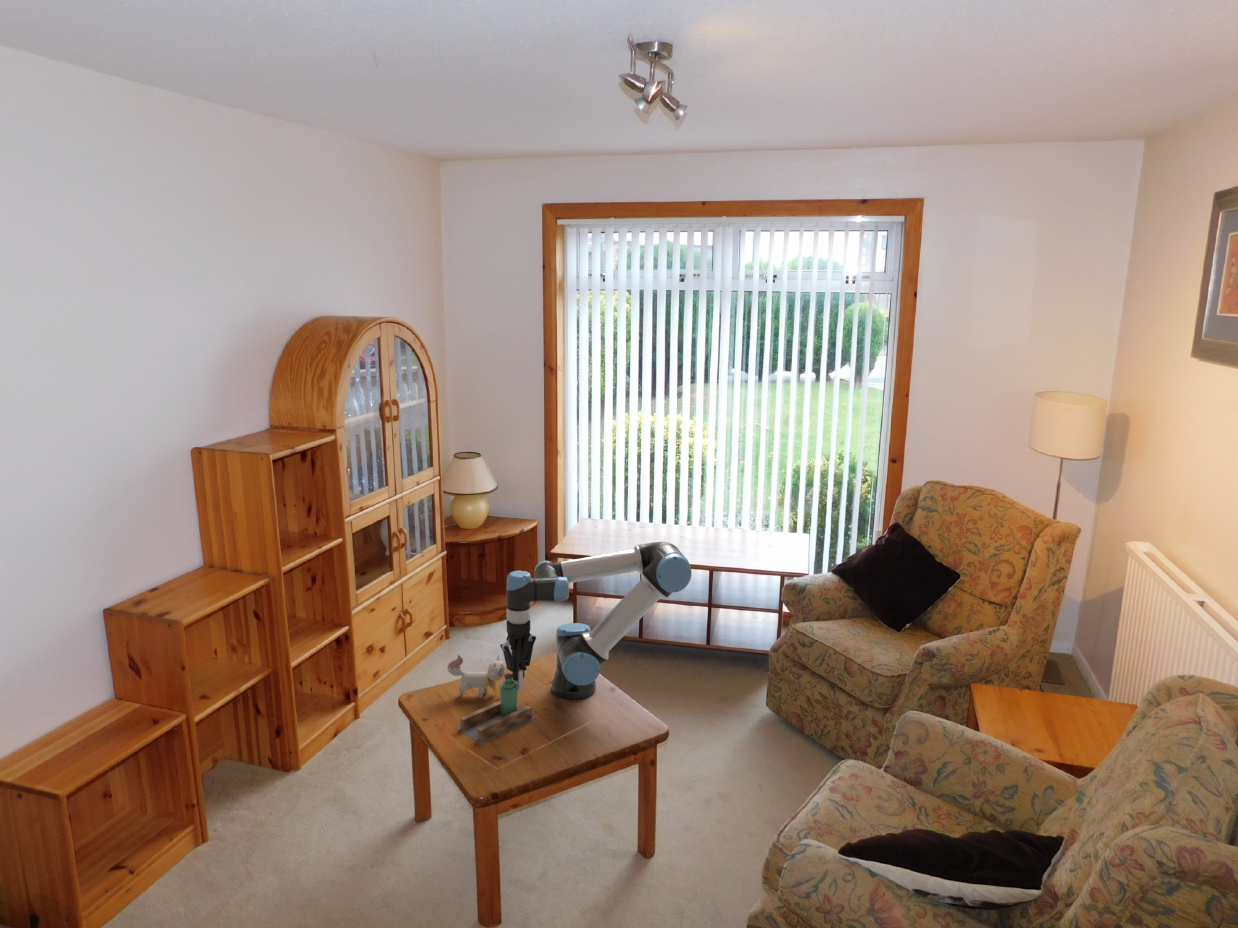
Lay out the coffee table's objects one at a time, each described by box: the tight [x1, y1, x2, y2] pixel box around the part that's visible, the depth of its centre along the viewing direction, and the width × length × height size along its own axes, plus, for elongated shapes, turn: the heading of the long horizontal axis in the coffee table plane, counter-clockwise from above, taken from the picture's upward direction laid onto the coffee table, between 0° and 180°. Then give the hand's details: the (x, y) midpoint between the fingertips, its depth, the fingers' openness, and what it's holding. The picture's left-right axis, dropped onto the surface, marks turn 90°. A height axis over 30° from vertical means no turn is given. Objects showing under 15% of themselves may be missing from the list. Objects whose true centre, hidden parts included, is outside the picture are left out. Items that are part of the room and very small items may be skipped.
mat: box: [455, 707, 537, 745], centre depth 262 cm, size 22×13×1 cm, turn 136°
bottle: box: [499, 672, 519, 717], centre depth 264 cm, size 5×5×15 cm
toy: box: [447, 654, 505, 699], centre depth 277 cm, size 9×19×15 cm, turn 89°
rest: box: [459, 700, 533, 741], centre depth 261 cm, size 20×11×4 cm, turn 136°
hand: (518, 688), depth 267 cm, fingers closed
